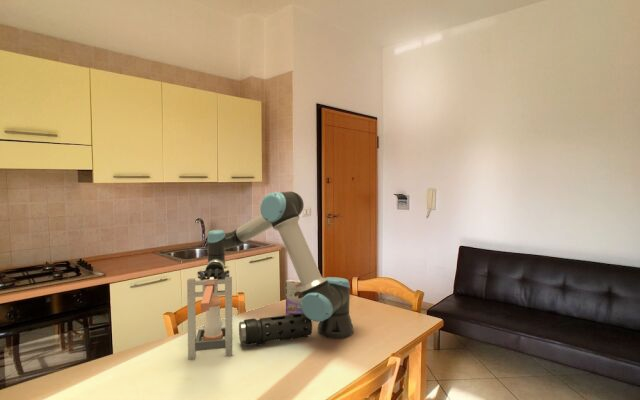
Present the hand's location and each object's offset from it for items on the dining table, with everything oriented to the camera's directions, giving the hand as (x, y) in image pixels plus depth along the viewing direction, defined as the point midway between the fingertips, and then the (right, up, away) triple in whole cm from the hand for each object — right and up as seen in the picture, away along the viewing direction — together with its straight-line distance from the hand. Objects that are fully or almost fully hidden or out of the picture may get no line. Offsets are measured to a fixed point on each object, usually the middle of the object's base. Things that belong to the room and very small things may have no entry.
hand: (210, 285), depth 135 cm
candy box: (+31, -24, +42) cm, 57 cm away
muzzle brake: (+23, -26, +11) cm, 36 cm away
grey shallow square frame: (-2, -25, +10) cm, 27 cm away
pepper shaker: (-2, -25, +10) cm, 27 cm away
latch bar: (+3, -3, -11) cm, 12 cm away
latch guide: (0, -26, -1) cm, 26 cm away
